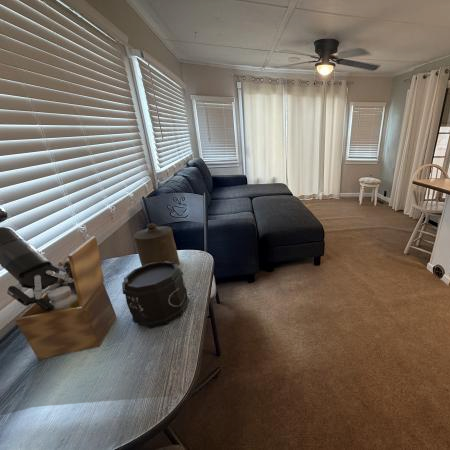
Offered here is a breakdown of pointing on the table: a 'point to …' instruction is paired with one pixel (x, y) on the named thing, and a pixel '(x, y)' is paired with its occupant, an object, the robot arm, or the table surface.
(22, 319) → the box
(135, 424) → the table surface
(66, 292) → the pill bottle
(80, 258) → the lid
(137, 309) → the dark round tin
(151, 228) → the wooden container
